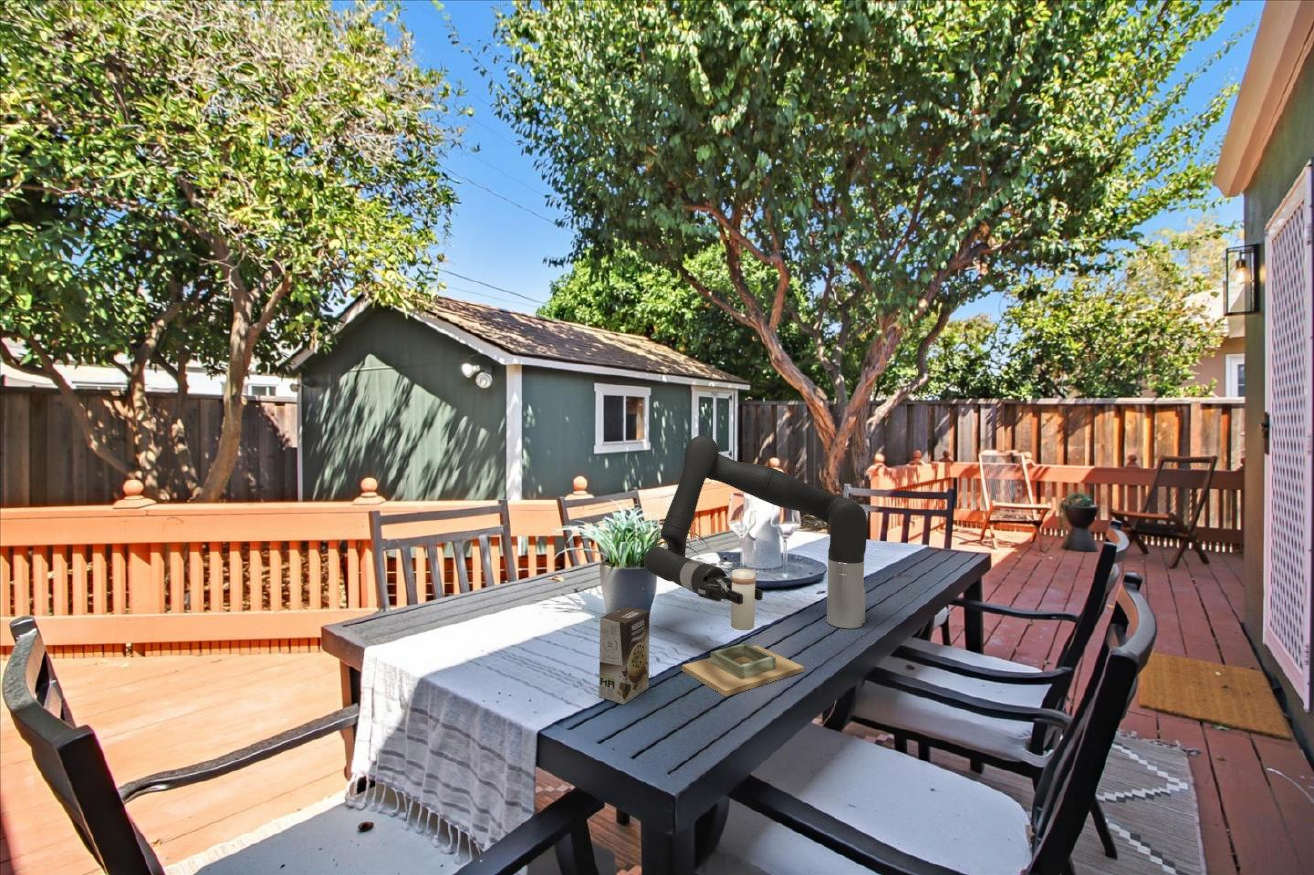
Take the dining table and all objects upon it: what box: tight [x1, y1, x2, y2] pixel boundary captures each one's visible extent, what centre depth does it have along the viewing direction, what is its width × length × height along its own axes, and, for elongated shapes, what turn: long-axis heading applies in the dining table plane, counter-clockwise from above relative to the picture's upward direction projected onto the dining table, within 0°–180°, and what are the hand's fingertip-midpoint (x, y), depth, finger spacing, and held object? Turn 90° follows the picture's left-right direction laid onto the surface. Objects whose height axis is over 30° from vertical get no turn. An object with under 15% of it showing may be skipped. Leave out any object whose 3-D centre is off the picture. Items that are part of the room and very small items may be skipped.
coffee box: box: [598, 606, 650, 705], centre depth 128 cm, size 9×6×16 cm
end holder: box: [681, 642, 805, 697], centre depth 139 cm, size 22×15×4 cm
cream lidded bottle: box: [730, 568, 757, 631], centre depth 138 cm, size 5×5×12 cm
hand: (751, 597), depth 136 cm, fingers closed on cream lidded bottle, 5 cm apart
